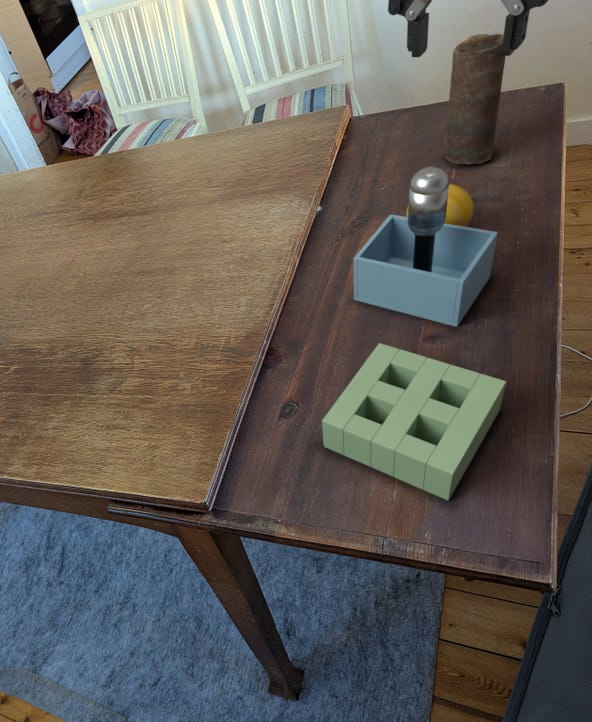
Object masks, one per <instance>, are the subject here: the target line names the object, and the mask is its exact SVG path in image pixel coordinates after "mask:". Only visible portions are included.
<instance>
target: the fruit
mask: <svg viewBox="0 0 592 722" xmlns="http://www.w3.org/2000/svg"><path fill="white" fill-rule="evenodd" d="M406 208H407V209H406V212H405V217H408V207H406ZM474 210H475V209H474V202H473V199H472V197H471V196H470V194H469V193H468V192H467V191H466V190H465V189H464V188H463V187H461V186H458V185H455V184H452V183H449V191H448V200H447V210H446V219H445V224H451V225H457V226H464V227H468V225H469V223H470V221H471V220H472V218H473V215H474Z"/></svg>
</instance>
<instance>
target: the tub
mask: <svg viewBox="0 0 592 722" xmlns="http://www.w3.org/2000/svg"><path fill="white" fill-rule="evenodd" d="M498 235H499V232H498V231H493V230H489V229H481V228H475V227H469V226H466V227H464V226H457V225H451V224H445V223H444V225H443V227H442V228H441V229H440V231H438V232H437V233H436V234H435V242H434V253H433V263H432V272H427V271H422V270H418V269H413V257H414V242H415V234H414V233H413V232H412V231H411V230H410V228H409V226H408V217H406V216H403V215H402V216H401V215H397V214H389V215H388V216H387V218H386V219H385V220H384V221H383V222H382V224H381V225H379V227H378V229H376V231H375V232H374V233H373V235H371V236H370V238H369V239H368V240H367V242H365V244H364V245H363V246H362V248H361V249H360V250H358V252H357V253H356V254H355V256H354V257H353V259H352V260H353V262H352V263H353V301H356V302H359V303H360V302H361V303H364V304H368V305H371V306H375V307H378V308H383V309H387V310H390V311H394V312H398V313H402V314H406V315H409V316H410V315H411V316H413V317H417V318H421V319H426V320H429V321H433V322H437V323H440V324H444V325H448V326H452V327H455V328H458V326H459V325H460V323H461V322H462V320H463V319H464V317H466V316H465V315H466V314H467V313H468V311H469V310H470V308H471V306H472V305H473V304H474V302H475V301H476V299H477V298H478V297H479V295H480V293H481V292H482V290H483V288H484V287H485V286H486V284H487V283H488V281H489V280H490V278H491V273H492V267H493V262H494V256H495V251H496V246H497V240H498Z"/></svg>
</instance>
